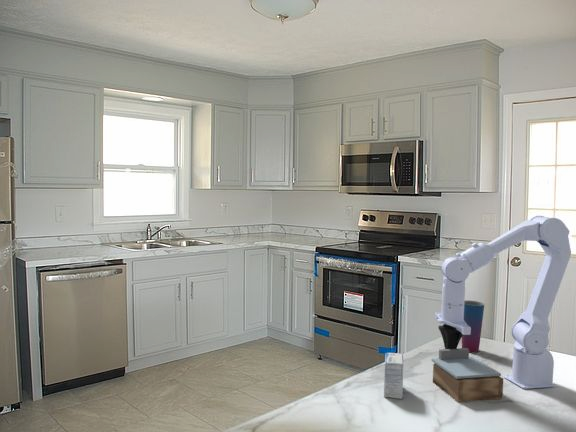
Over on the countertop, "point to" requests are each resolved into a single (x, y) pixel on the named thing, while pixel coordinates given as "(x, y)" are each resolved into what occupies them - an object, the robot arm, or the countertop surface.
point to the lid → (463, 364)
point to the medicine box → (393, 375)
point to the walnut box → (468, 386)
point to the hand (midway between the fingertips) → (450, 353)
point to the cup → (473, 324)
